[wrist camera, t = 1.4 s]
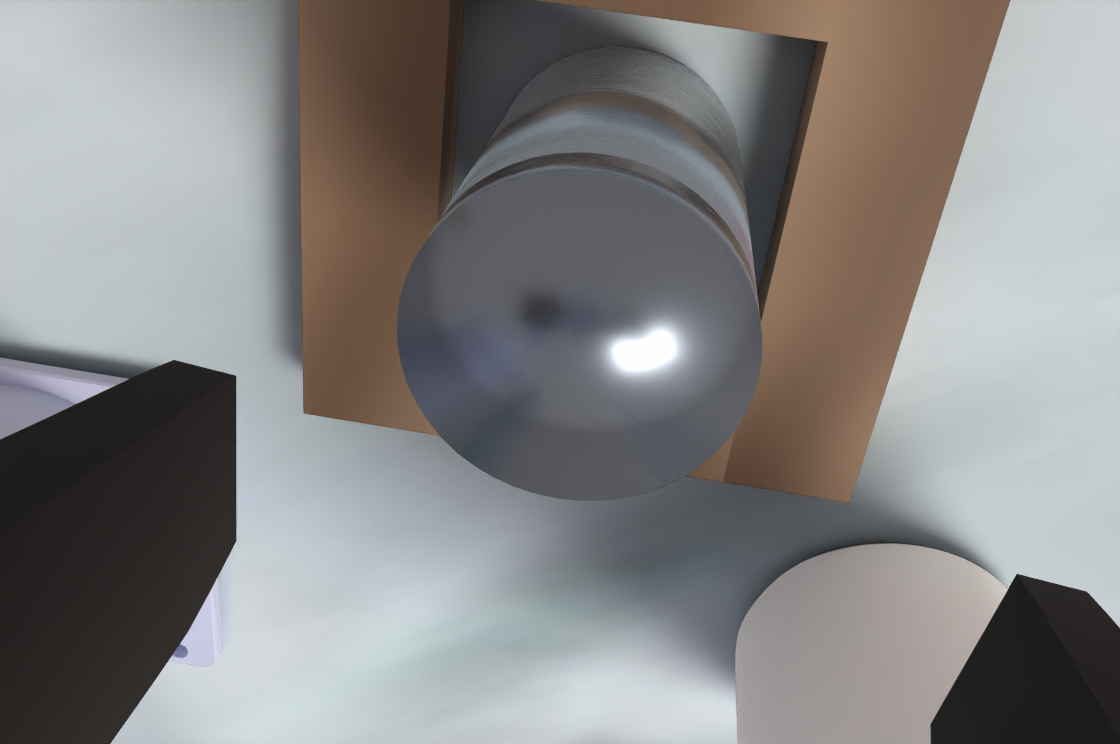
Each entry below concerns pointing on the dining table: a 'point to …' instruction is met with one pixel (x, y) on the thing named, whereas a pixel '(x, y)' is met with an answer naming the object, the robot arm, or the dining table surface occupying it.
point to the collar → (796, 243)
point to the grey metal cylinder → (591, 285)
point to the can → (859, 645)
